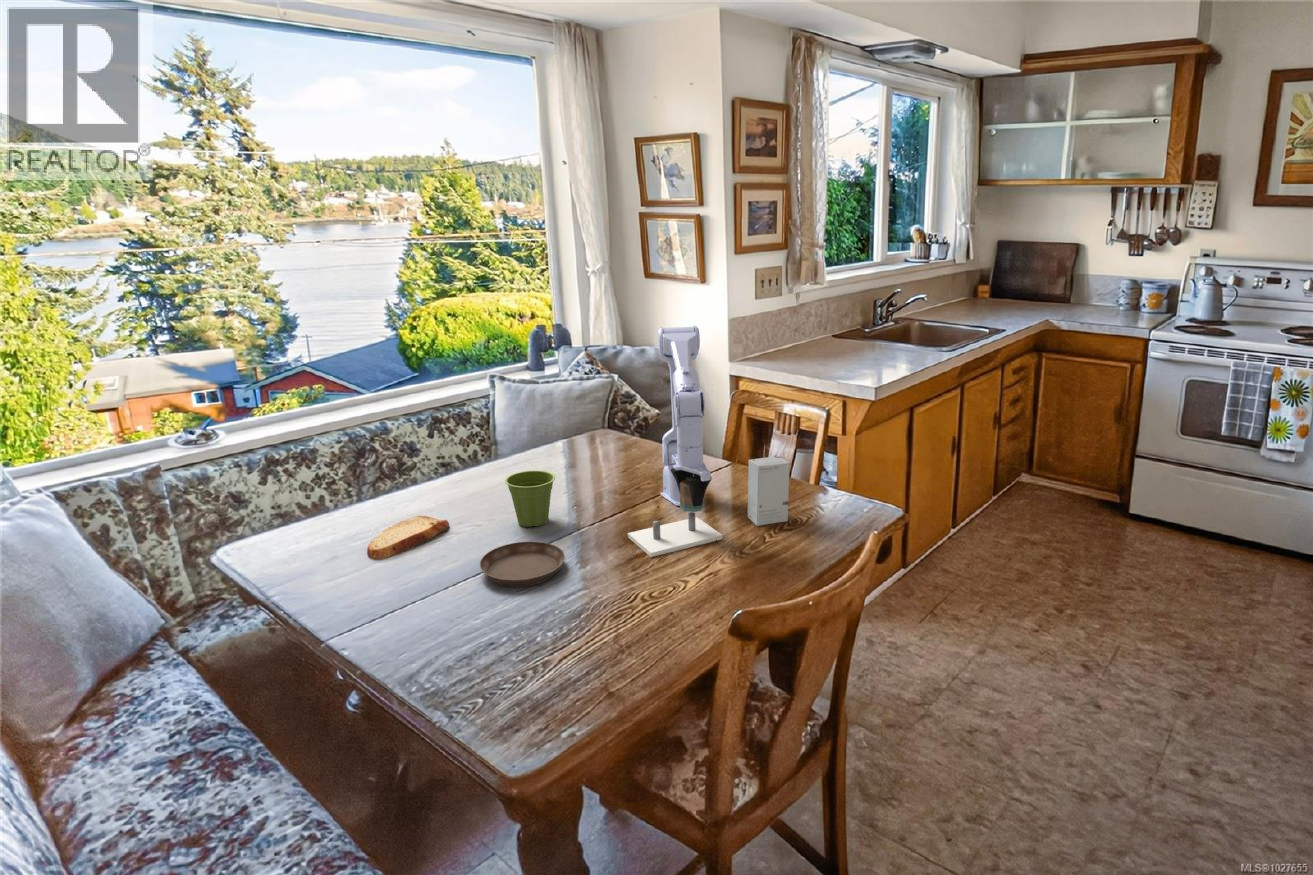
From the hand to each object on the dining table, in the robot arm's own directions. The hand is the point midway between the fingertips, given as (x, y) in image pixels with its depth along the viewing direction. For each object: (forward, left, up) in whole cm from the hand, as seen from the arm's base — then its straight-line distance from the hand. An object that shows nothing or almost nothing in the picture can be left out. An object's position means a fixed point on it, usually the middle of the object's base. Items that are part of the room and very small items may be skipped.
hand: (691, 501), depth 176 cm
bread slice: (-31, -58, -9) cm, 66 cm away
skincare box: (+2, +20, -8) cm, 21 cm away
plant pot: (-26, -29, -8) cm, 40 cm away
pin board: (0, -4, -8) cm, 9 cm away
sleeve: (0, 0, -2) cm, 2 cm away
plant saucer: (-2, -39, -8) cm, 40 cm away
